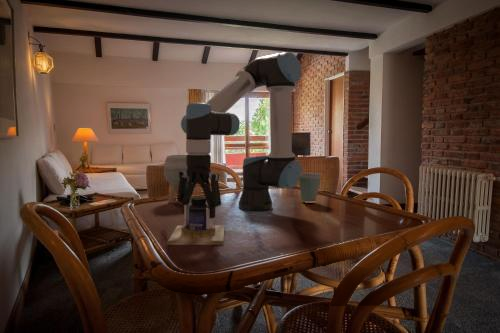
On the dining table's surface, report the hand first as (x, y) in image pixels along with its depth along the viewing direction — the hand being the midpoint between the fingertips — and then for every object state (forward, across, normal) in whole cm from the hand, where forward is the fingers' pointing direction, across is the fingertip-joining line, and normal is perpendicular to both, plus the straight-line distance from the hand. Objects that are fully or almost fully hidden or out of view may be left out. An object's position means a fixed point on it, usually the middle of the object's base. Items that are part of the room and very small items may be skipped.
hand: (198, 226), depth 99 cm
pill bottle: (+2, 0, 0) cm, 2 cm away
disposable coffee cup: (+3, -16, -68) cm, 70 cm away
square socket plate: (+3, 0, 0) cm, 3 cm away
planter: (+3, +39, -39) cm, 55 cm away
